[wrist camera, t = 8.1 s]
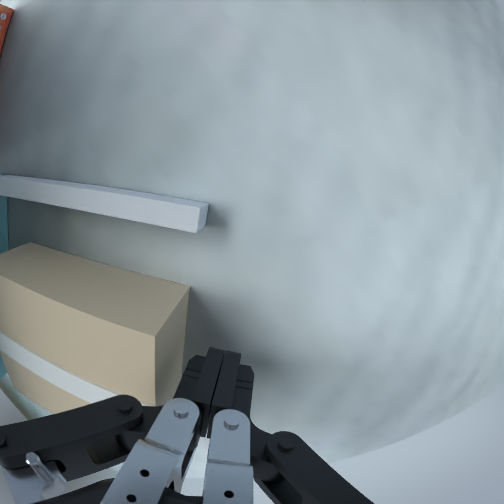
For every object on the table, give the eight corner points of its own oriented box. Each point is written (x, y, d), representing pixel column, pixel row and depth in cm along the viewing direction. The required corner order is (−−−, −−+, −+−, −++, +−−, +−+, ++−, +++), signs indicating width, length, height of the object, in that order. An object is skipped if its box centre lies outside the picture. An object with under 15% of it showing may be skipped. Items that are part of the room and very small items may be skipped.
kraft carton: (35, 239, 14) (-23, 264, 9) (192, 282, 14) (153, 338, 9) (51, 352, 16) (13, 389, 11) (181, 403, 16) (158, 463, 11)
